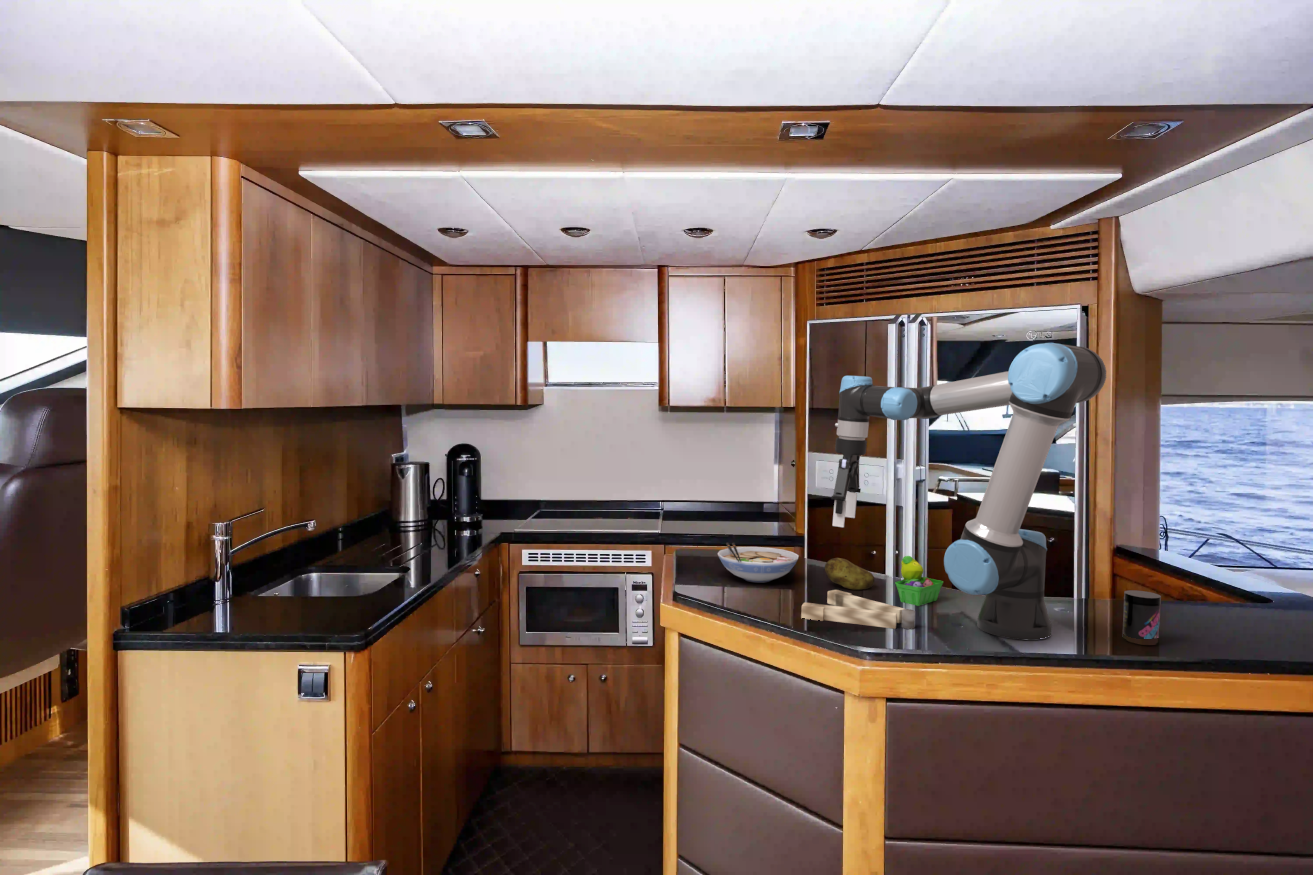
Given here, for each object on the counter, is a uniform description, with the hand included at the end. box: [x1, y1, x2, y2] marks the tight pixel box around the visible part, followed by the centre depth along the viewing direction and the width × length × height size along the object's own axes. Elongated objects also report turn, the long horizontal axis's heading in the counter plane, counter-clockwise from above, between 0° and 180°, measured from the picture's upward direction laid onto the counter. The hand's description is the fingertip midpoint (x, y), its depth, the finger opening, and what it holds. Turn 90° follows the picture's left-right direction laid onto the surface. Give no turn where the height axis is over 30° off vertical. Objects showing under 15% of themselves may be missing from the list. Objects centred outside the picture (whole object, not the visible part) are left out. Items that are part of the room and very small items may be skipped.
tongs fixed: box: [800, 601, 916, 630], centre depth 180 cm, size 25×5×4 cm, turn 68°
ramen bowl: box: [717, 542, 800, 584], centre depth 221 cm, size 25×23×8 cm
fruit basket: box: [895, 555, 944, 607], centre depth 201 cm, size 11×9×11 cm
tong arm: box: [826, 589, 905, 624], centre depth 188 cm, size 21×3×3 cm, turn 38°
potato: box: [824, 557, 875, 590], centre depth 213 cm, size 8×13×8 cm, turn 64°
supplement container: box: [1122, 589, 1162, 639], centre depth 169 cm, size 7×7×10 cm
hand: (843, 521), depth 197 cm, fingers open, 13 cm apart
